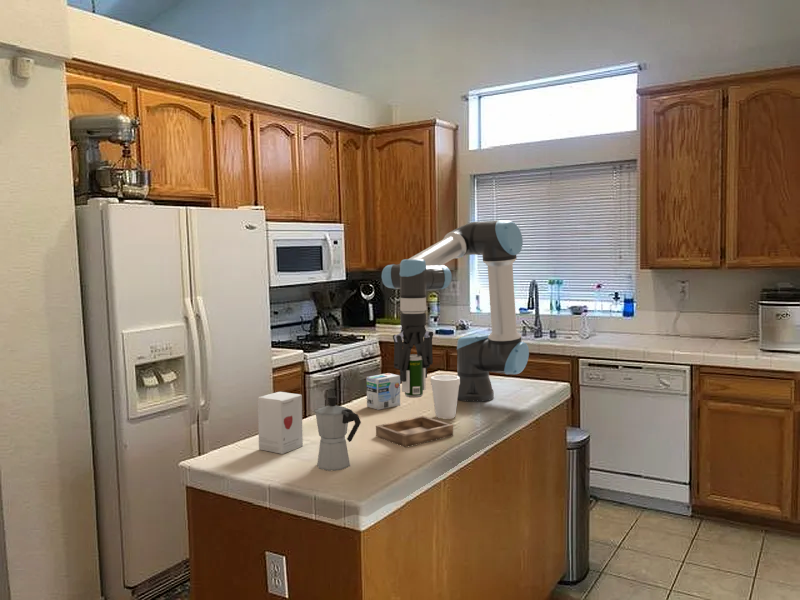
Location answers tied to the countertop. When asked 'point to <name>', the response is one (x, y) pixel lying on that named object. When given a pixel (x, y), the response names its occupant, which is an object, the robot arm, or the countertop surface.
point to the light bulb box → (383, 391)
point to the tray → (414, 431)
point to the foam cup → (445, 395)
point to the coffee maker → (334, 435)
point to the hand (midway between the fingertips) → (413, 390)
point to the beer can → (415, 376)
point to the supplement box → (280, 422)
